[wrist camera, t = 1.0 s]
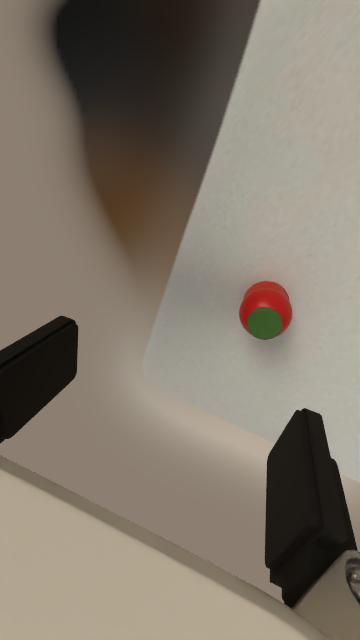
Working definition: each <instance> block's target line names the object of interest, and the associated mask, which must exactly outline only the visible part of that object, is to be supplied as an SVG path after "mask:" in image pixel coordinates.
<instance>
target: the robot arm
mask: <svg viewBox="0 0 360 640" xmlns="http://www.w3.org/2000/svg"><path fill="white" fill-rule="evenodd" d="M77 350H78V325H76V322H75V321H74V320H72V319H70V318H67V317H65V316H59V317H57V318H56V319H54V320H52V321H51V322H49V323H47V324H45V325H44V326H42V327H40V328H38V329H37V330H35V331H33V332H32V333H30V334H28V335H26V336H25V337H23V338H21V339H20V340H18V341H16V342H14V343H13V344H11V345H9V346H7V347H6V348H4V349H2V350H1V351H0V443H1V442H2V441H4V440H5V439H9V438H11V437H12V436H14V435H15V434H16V433H17V432H18V431H19V430H20V429H21V428H22V427H23V426H24V425H25V424H26V423H27V422H28V421H29V420H31V418H33V417H34V416H35V415H36V414H37V413H38V412H39V411H40V410H41V409H42V408H43V407H44V406H46V405H47V404H48V403H49V402H50V401H51V400H52V399H53V398H54V397H55V396H56V395H57V394H58V393H59V392H60V391H61V390H63V389H64V388H65V387H66V386H67V385H68V384H69V383H70V382H71V381H72V380H73V379H74V378H75V376H76V373H77ZM266 489H267V490H266V532H265V564H266V567H267V568H269V569H270V582H271V583H273V584H275V585H277V586H279V587H281V588H282V599H283V600H284V602H285V603H282V602H280V601H279V600H277V599H275V598H274V597H272V596H270V595H269V594H267V593H265V592H264V591H262V590H260V589H259V588H257V587H255V586H253V585H252V584H250V583H247V582H246V581H244V580H242V579H240V578H238V577H237V576H235V575H233V574H231V573H229V572H227V571H225V570H224V569H222V568H220V567H218V566H216V565H214V564H212V563H211V562H209V561H207V560H205V559H203V558H201V557H199V556H197V555H195V554H193V553H191V552H189V551H188V550H185V549H184V548H182V547H180V546H178V545H176V544H174V543H172V542H170V541H168V540H166V539H164V538H162V537H160V536H158V535H156V534H155V533H153V532H150V531H149V530H147V529H145V528H143V527H141V526H139V525H137V524H135V523H133V522H131V521H129V520H127V519H125V518H123V517H121V516H119V515H117V514H115V513H113V512H112V511H110V510H108V509H106V508H104V507H101V506H100V505H98V504H96V503H94V502H92V501H90V500H88V499H86V498H84V497H82V496H80V495H78V494H76V493H74V492H72V491H70V490H68V489H66V488H64V487H62V486H60V485H58V484H56V483H54V482H53V481H51V480H48V479H47V478H45V477H43V476H41V475H39V474H36V473H35V472H32V471H30V470H29V469H27V468H25V467H23V466H20V465H19V464H17V463H14V462H13V461H11V460H9V459H7V458H5V457H3V456H1V455H0V640H360V552H358V551H357V547H356V542H355V538H354V533H353V529H352V525H351V521H350V516H349V512H348V508H347V504H346V500H345V495H344V491H343V487H342V483H341V478H340V474H339V470H338V466H337V463H336V461H335V460H334V459H332V458H331V457H330V452H329V447H328V443H327V438H326V434H325V429H324V424H323V420H322V416H321V415H320V414H319V413H316V412H313V411H311V410H308V409H306V408H304V409H302V410H301V411H300V410H296V412H295V413H294V415H293V416H292V418H291V419H290V421H289V423H288V424H287V426H286V427H285V429H284V431H283V432H282V434H281V436H280V437H279V439H278V440H277V442H276V444H275V445H274V447H273V449H272V450H271V452H270V454H269V456H268V460H267V488H266Z"/></svg>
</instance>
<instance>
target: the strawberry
mask: <svg viewBox="0 0 360 640" xmlns="http://www.w3.org/2000/svg"><path fill="white" fill-rule="evenodd" d="M239 316H240V321H241V323H242V325H243V327H244V328H245V330H246V331H247V332H249V333H250V334H251V335H253V336H254V337H256V338H259V339H264V340H266V339H271V338H274V337H276V336H278V335H280V334H281V333H283V332H284V331H285V330H286V329H287V327H288V326H289V324H290V322H291V319H292V308H291V304H290V302H289V297H288V294H287V292H286V291H285V289H284V288H283V287H282V286H280V285H279V284H277V283H274V282H268V281H265V282H259V283H257V284H255V285H253V286H252V287H250V288H249V289H248V291H247V292H246V294H245V296H244V299H243V302H242V304H241V306H240V311H239Z"/></svg>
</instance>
